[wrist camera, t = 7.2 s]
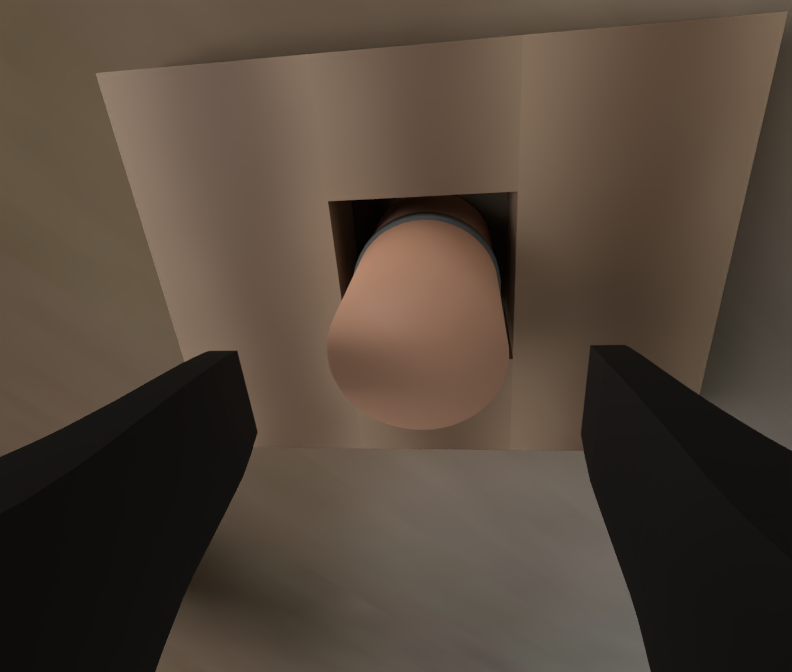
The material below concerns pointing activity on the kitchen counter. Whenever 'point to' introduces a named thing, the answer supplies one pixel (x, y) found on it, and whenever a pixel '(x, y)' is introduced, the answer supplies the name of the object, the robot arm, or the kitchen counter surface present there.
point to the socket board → (452, 175)
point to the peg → (422, 318)
